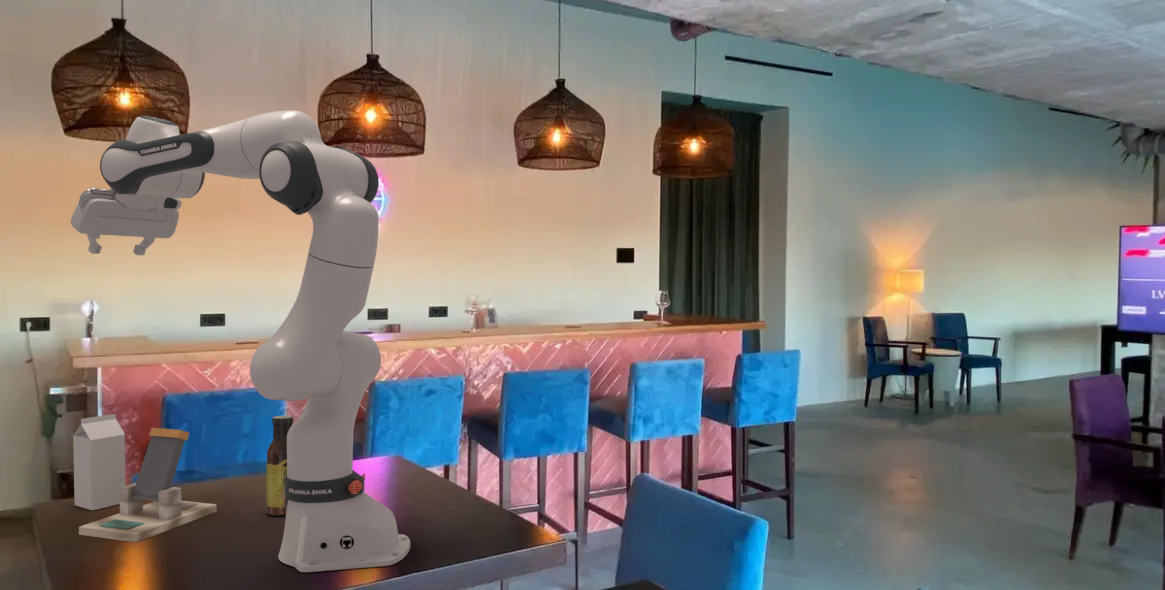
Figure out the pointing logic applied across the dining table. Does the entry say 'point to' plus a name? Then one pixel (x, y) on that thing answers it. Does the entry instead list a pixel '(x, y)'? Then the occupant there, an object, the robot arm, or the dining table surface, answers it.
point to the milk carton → (98, 462)
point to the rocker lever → (159, 463)
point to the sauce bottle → (277, 466)
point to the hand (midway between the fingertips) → (116, 253)
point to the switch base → (147, 516)
